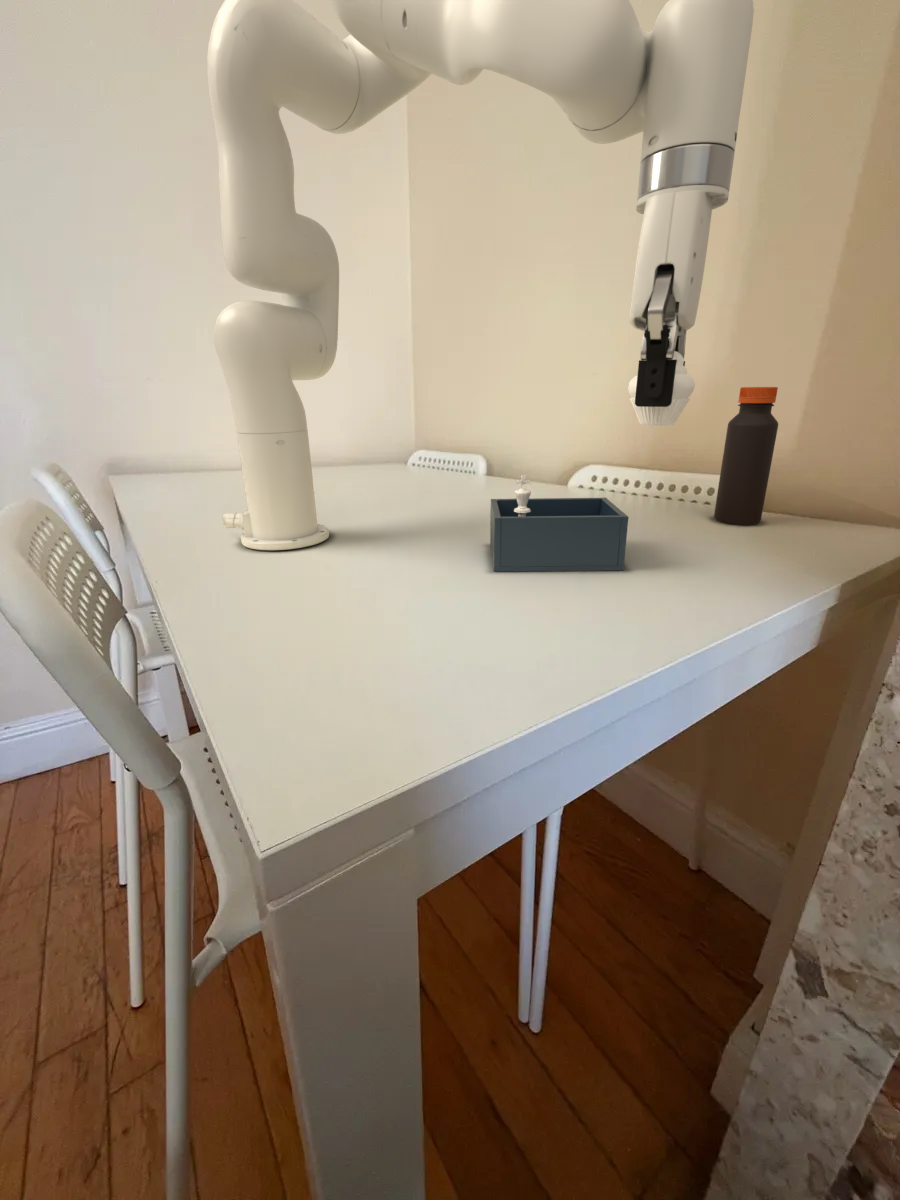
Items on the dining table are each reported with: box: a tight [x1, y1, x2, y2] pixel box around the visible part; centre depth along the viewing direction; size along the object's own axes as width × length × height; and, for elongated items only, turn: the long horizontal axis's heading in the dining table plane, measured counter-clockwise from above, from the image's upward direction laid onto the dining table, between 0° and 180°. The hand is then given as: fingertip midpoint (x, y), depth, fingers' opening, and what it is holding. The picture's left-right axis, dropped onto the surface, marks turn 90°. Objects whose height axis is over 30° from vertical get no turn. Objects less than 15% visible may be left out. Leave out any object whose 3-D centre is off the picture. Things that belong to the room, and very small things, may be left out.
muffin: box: [627, 351, 696, 427], centre depth 55 cm, size 6×6×7 cm
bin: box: [489, 497, 630, 572], centre depth 73 cm, size 16×12×7 cm
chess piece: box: [514, 474, 532, 517], centre depth 72 cm, size 5×5×10 cm
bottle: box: [713, 386, 779, 526], centre depth 87 cm, size 7×7×20 cm
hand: (658, 403), depth 56 cm, fingers closed on muffin, 6 cm apart
